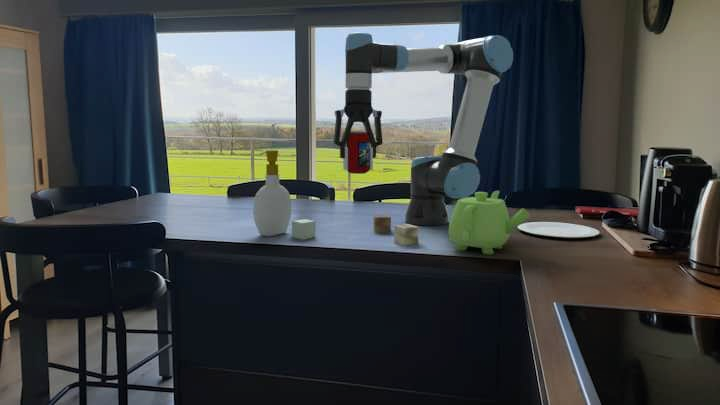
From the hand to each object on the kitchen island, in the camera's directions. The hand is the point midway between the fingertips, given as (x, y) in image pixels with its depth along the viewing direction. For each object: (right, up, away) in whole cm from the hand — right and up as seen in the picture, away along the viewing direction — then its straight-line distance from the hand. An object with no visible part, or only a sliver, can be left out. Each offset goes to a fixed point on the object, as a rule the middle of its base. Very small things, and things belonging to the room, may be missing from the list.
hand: (357, 169), depth 157 cm
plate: (+64, -20, +16) cm, 69 cm away
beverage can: (0, -1, 0) cm, 1 cm away
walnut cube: (+8, -19, +16) cm, 26 cm away
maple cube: (+14, -21, -1) cm, 26 cm away
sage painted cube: (-16, -20, +6) cm, 27 cm away
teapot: (+37, -23, -7) cm, 44 cm away
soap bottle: (-27, -20, +10) cm, 35 cm away
